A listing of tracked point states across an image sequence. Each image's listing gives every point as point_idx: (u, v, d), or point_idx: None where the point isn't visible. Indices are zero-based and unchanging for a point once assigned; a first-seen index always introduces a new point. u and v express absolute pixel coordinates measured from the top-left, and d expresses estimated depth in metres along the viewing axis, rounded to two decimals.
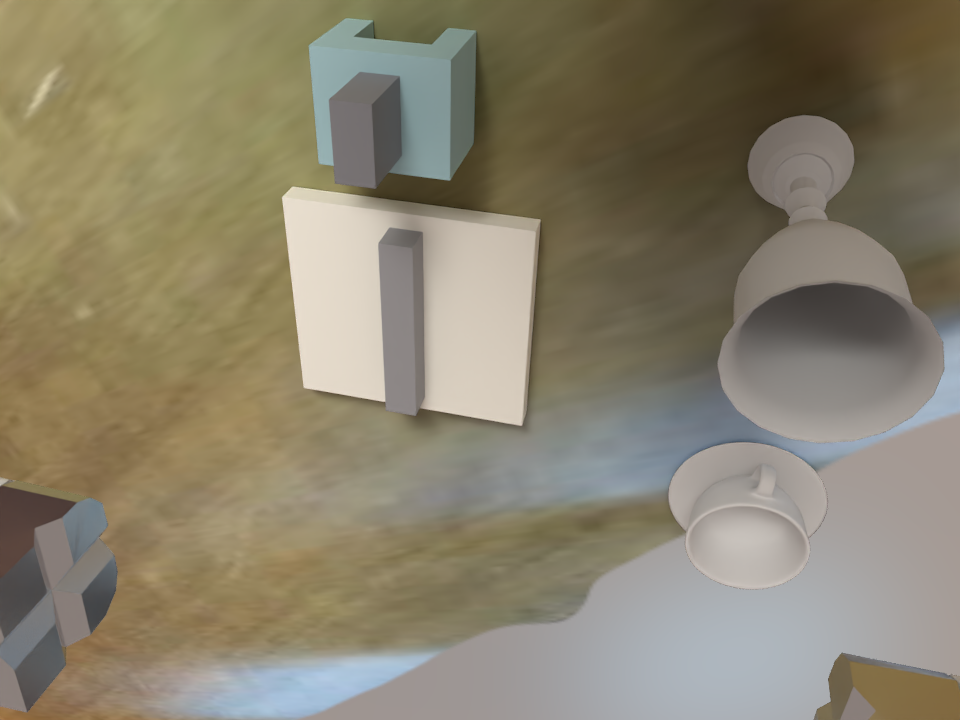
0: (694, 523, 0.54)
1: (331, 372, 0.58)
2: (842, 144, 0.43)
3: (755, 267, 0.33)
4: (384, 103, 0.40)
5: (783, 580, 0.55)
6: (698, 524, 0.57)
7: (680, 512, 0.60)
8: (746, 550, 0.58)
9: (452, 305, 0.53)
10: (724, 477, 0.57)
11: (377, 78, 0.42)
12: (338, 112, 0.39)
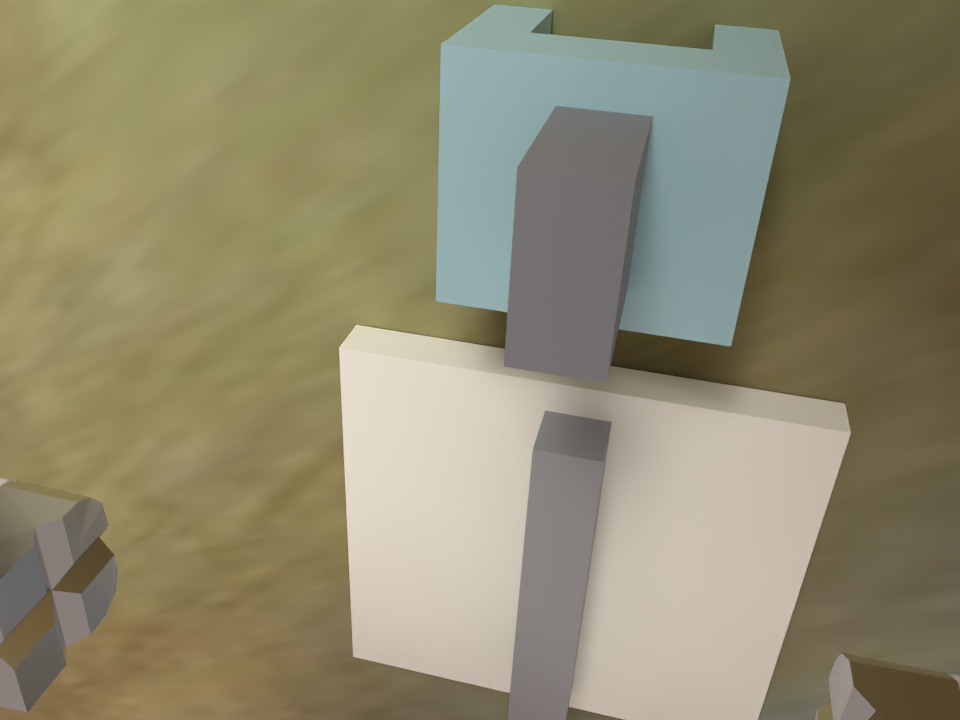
0: None
1: (405, 638, 0.33)
2: None
3: None
4: (639, 178, 0.16)
5: None
6: None
7: None
8: None
9: (650, 550, 0.28)
10: None
11: (604, 119, 0.18)
12: (538, 201, 0.15)
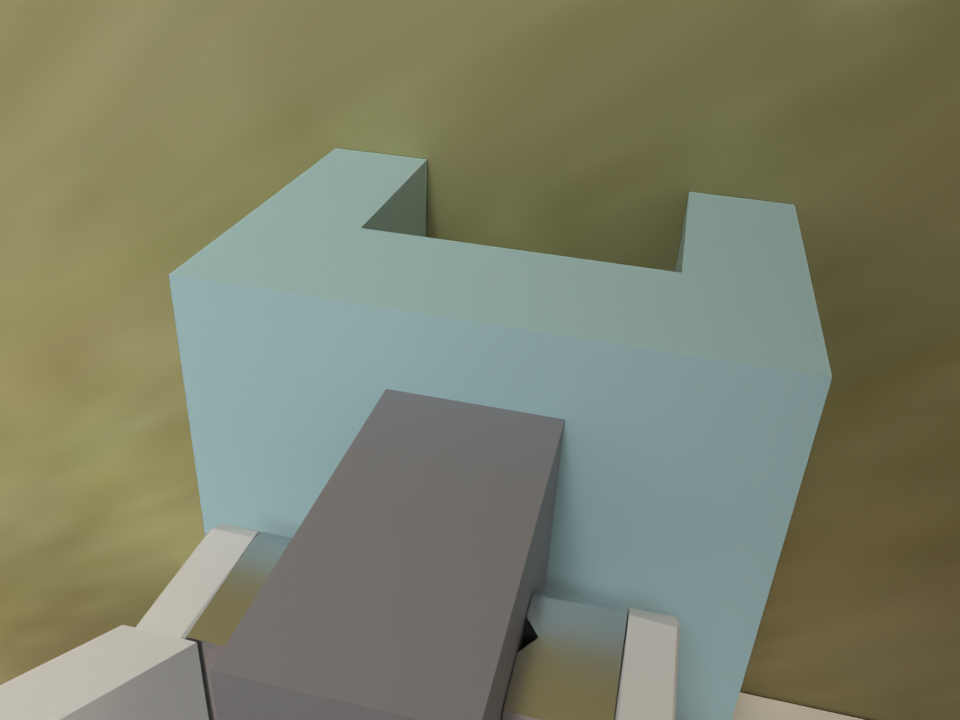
0: None
1: None
2: None
3: None
4: (519, 614, 0.08)
5: None
6: None
7: None
8: None
9: None
10: None
11: (468, 437, 0.09)
12: None
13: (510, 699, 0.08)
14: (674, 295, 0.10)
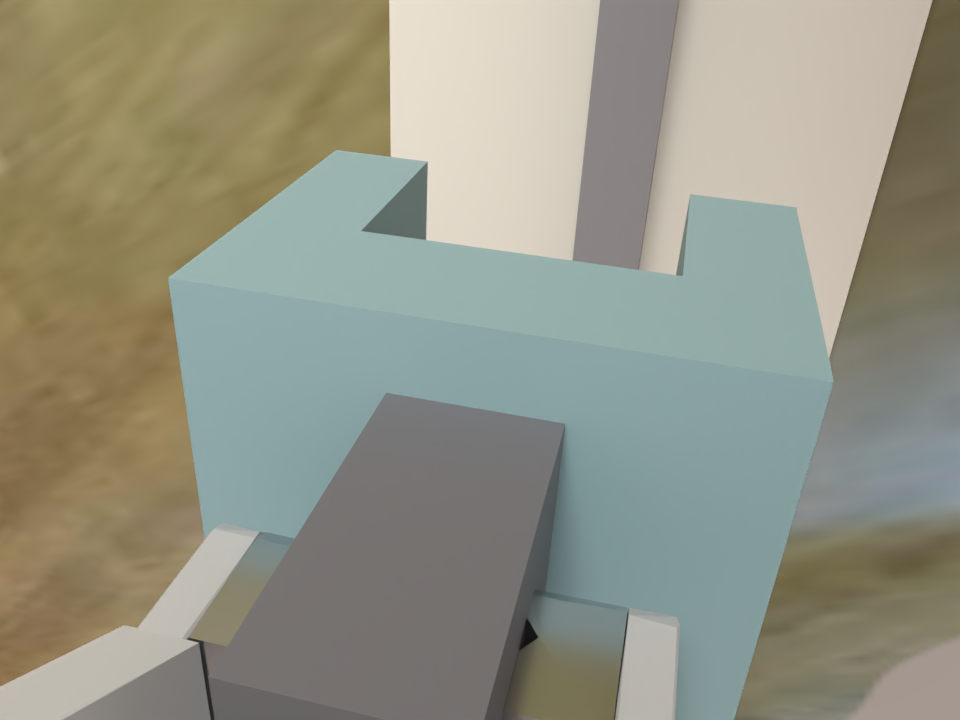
0: None
1: None
2: None
3: None
4: (518, 621, 0.08)
5: None
6: None
7: None
8: None
9: (730, 84, 0.25)
10: None
11: (468, 441, 0.09)
12: None
13: (510, 699, 0.08)
14: (675, 299, 0.10)
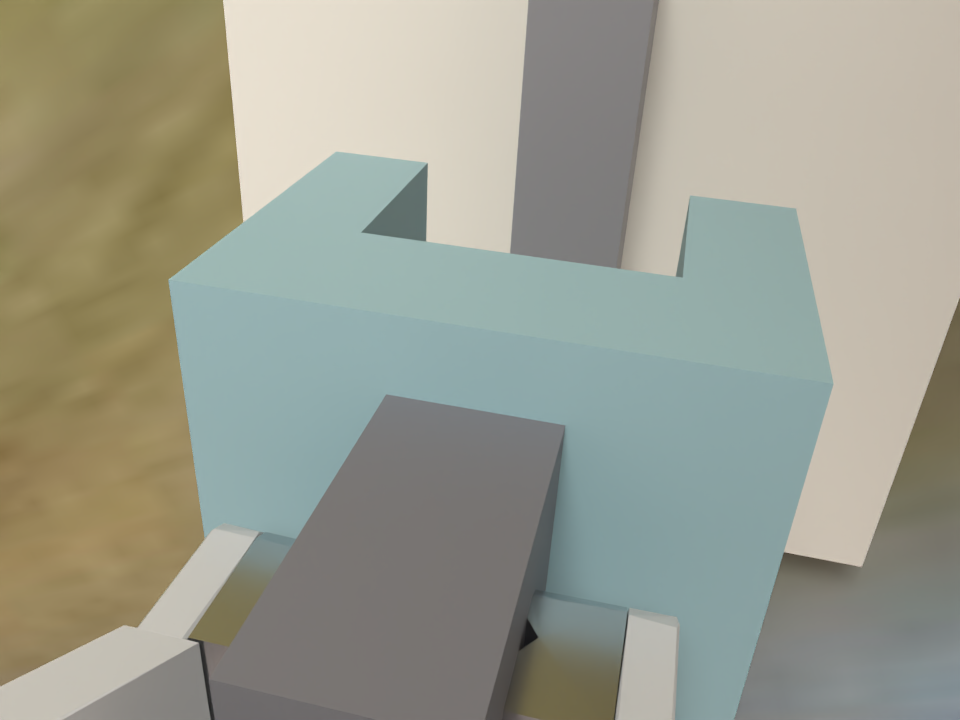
0: None
1: None
2: None
3: None
4: (519, 623, 0.08)
5: None
6: None
7: None
8: None
9: None
10: None
11: (468, 443, 0.09)
12: None
13: (510, 699, 0.08)
14: (675, 300, 0.10)
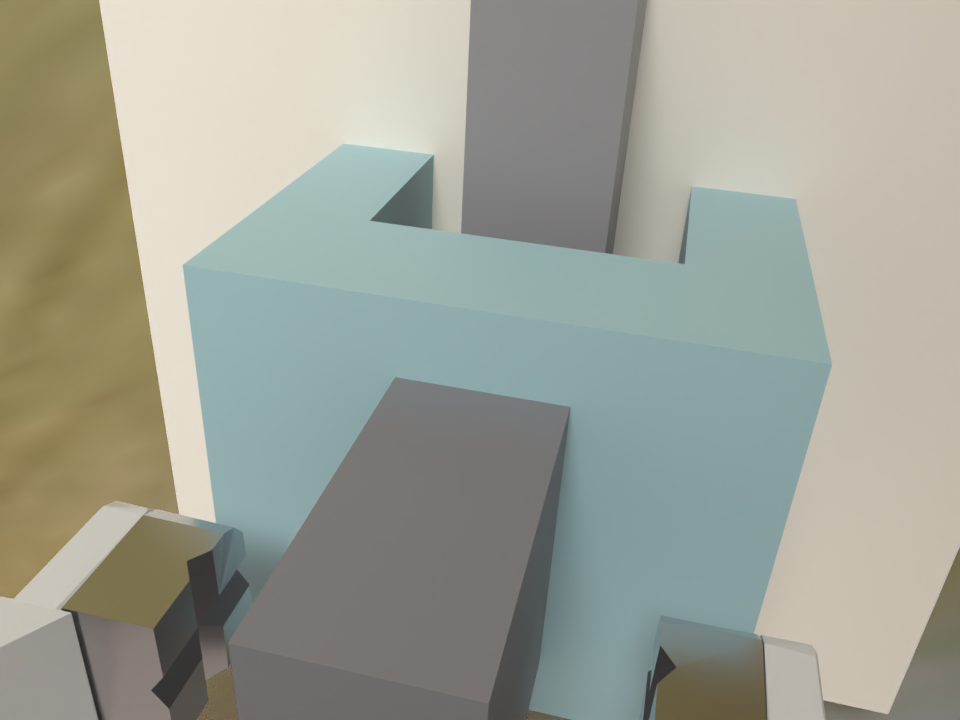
0: None
1: None
2: None
3: None
4: (526, 594, 0.08)
5: None
6: None
7: None
8: None
9: None
10: None
11: (475, 422, 0.09)
12: (284, 706, 0.07)
13: None
14: (677, 286, 0.10)
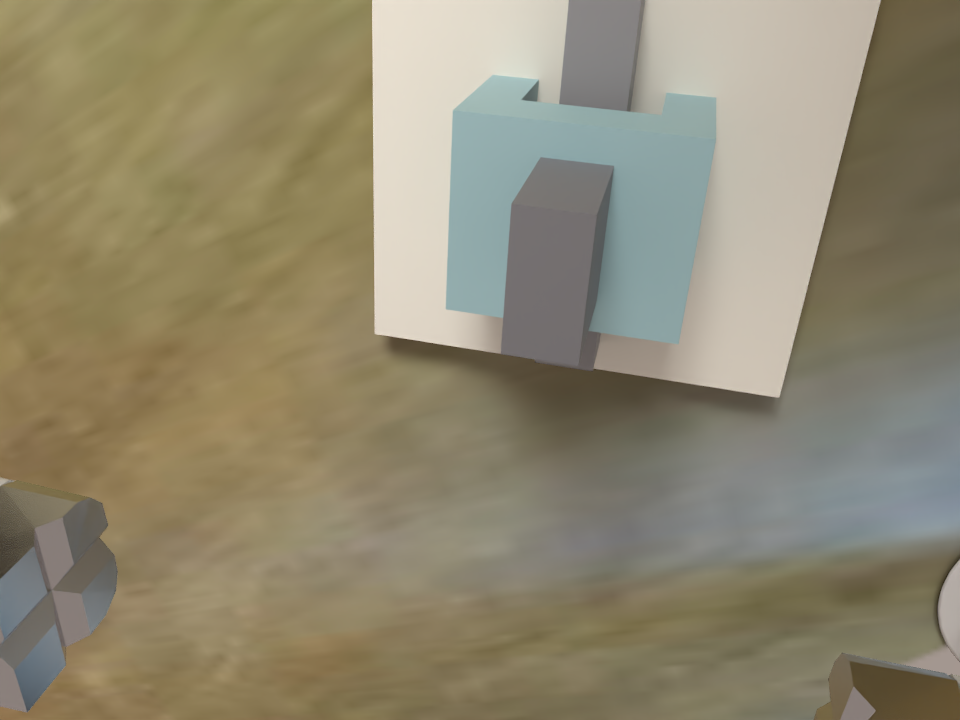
0: None
1: (429, 301, 0.33)
2: None
3: None
4: (602, 212, 0.22)
5: None
6: None
7: (957, 631, 0.36)
8: None
9: None
10: None
11: (577, 168, 0.23)
12: (526, 229, 0.21)
13: None
14: (658, 120, 0.24)
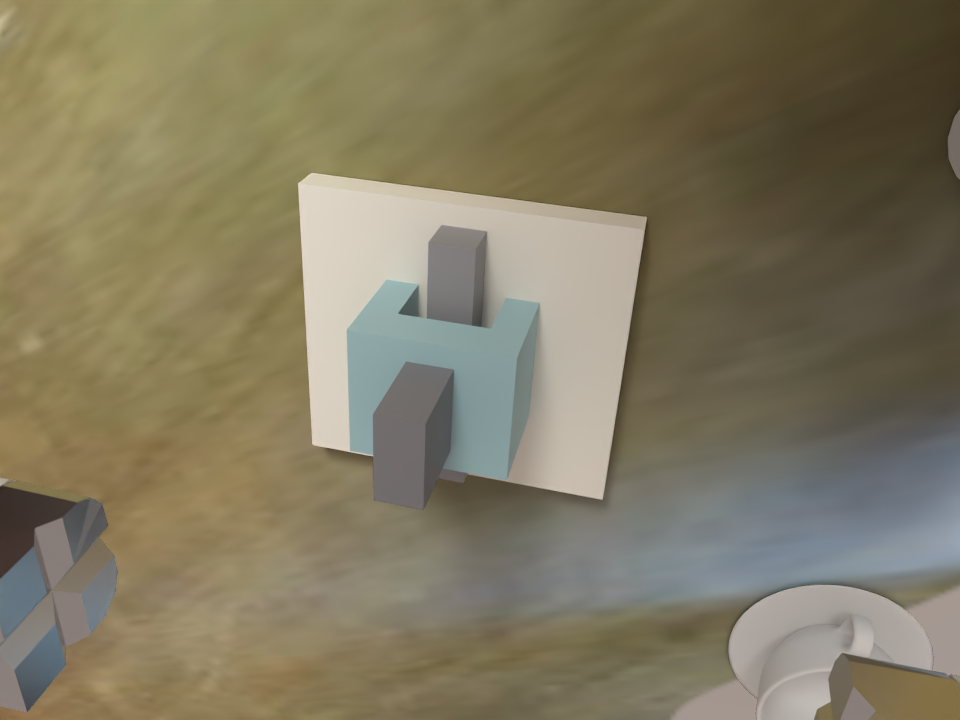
0: (769, 691, 0.42)
1: None
2: None
3: None
4: (437, 411, 0.33)
5: None
6: None
7: (744, 669, 0.48)
8: None
9: None
10: (800, 627, 0.46)
11: (427, 373, 0.35)
12: (383, 429, 0.32)
13: None
14: (485, 335, 0.36)
